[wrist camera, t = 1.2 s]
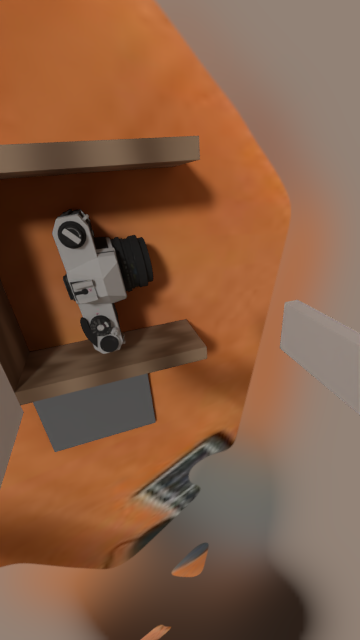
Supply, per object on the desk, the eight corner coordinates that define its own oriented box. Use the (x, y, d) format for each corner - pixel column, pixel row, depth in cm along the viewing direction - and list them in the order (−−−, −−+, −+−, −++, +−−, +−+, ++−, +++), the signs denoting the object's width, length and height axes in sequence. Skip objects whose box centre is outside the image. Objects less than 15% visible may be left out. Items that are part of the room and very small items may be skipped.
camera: (158, 310, 33) (179, 341, 25) (95, 331, 31) (96, 371, 23) (126, 196, 27) (140, 188, 19) (48, 214, 26) (28, 214, 18)
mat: (55, 448, 37) (54, 452, 36) (25, 379, 31) (24, 383, 31) (154, 419, 40) (155, 422, 39) (143, 352, 34) (144, 355, 34)
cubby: (19, 366, 30) (2, 409, 24) (-70, 162, 21) (-132, 151, 15) (186, 329, 35) (207, 358, 29) (173, 148, 26) (198, 135, 20)
